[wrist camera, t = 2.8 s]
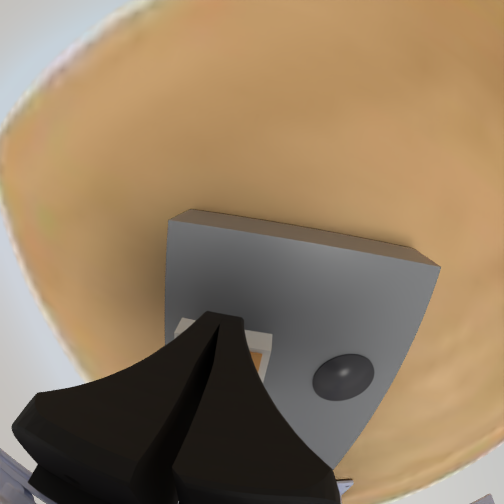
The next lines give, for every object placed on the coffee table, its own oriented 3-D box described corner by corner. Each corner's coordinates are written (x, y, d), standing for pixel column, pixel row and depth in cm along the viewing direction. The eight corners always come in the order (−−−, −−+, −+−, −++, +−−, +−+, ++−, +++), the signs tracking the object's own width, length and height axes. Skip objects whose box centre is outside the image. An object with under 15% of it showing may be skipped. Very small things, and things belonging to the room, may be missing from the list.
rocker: (251, 416, 13) (249, 433, 12) (184, 403, 13) (179, 419, 12) (272, 334, 11) (271, 352, 10) (182, 317, 11) (173, 334, 10)
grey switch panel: (310, 469, 20) (311, 495, 17) (183, 453, 20) (176, 478, 17) (413, 248, 13) (442, 268, 10) (190, 209, 14) (167, 220, 11)
